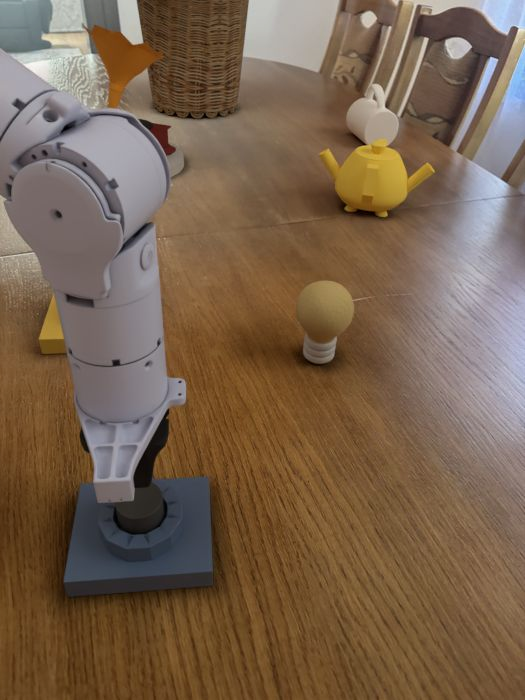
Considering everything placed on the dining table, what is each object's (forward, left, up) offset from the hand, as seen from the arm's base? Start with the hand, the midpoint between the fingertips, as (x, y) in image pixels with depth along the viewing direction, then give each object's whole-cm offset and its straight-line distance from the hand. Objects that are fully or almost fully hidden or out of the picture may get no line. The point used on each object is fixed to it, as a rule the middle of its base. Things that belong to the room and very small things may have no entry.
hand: (136, 480), depth 42 cm
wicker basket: (+6, +124, -8) cm, 124 cm away
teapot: (+36, +65, -8) cm, 75 cm away
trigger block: (-7, +30, -8) cm, 32 cm away
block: (0, 0, -8) cm, 8 cm away
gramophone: (-7, +84, -8) cm, 85 cm away
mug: (+45, +99, -8) cm, 109 cm away
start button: (0, 0, -4) cm, 4 cm away
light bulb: (+19, +23, -8) cm, 31 cm away
